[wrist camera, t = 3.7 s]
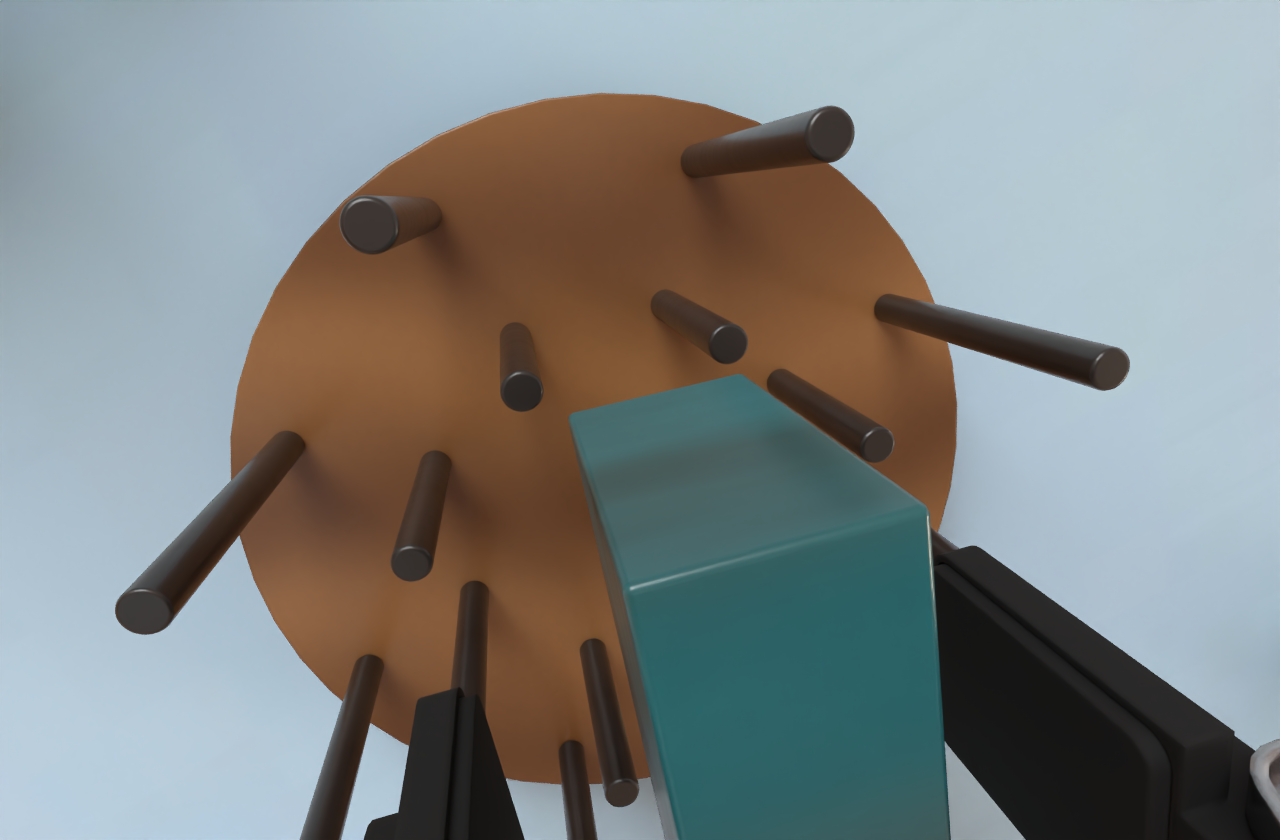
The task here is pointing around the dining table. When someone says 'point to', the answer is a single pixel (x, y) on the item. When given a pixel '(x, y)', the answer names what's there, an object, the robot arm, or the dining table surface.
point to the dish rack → (616, 468)
